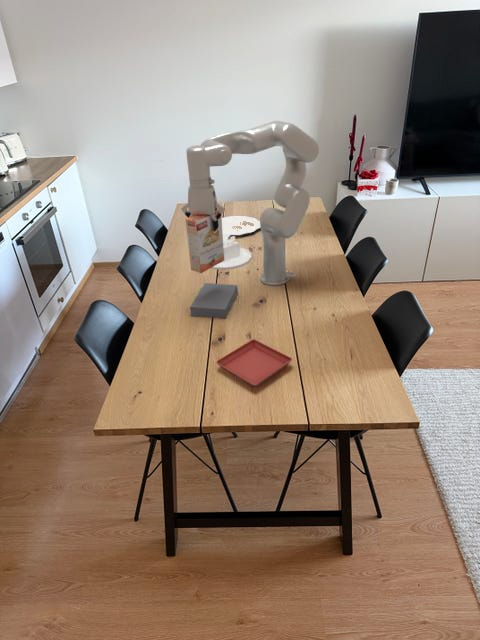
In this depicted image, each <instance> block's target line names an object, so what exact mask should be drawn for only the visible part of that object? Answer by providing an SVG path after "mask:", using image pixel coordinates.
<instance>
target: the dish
mask: <svg viewBox="0 0 480 640" xmlns="http://www.w3.org/2000/svg"><path fill="white" fill-rule="evenodd" d="M235 240H236V237H235V236H232V237H230V235H228V234H223V248H224V261H223V262H221V263H219V264H217V265H215V266H213V267H212V268H211V269H213V270H232V269H237V268H241V267H244V266H245V265H247V264H249V263H250V261H251V260H252V252H250V251H249V250H248V249H246V248H244V247H242V246H241V245H240V244H241V243H240V242H237V241H235Z"/></svg>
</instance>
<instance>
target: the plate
mask: <svg viewBox="0 0 480 640" xmlns="http://www.w3.org/2000/svg"><path fill="white" fill-rule="evenodd" d="M221 218H222V233H223V234H228V235H230V237H229V238H231V237H232V236H235V238H236V237H243V236H244V237H245V236H247V235H250V234H252V232H253V233H254V232H255V231H256V232H257V230H259V229H261V226H260V220H258V219H257V218H256V217H251V216H246V215H236V216H235V215H230V216H225V217H221ZM243 221H246V222H250V223H253V224H254V226H250V225H248V224H247V225H246V226H244V225H242V223H243ZM240 222H241V225H240ZM233 226H241V227H242V229H239V228H238V229H237V228H236V227H235V228H236V229H235V228H234V227H233ZM232 227H233V228H234V229H233V228H232ZM237 230H238V231H237Z"/></svg>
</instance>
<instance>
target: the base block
mask: <svg viewBox="0 0 480 640" xmlns="http://www.w3.org/2000/svg"><path fill="white" fill-rule="evenodd" d="M238 291H239V290H238V284H225V283H211V282H209V283H208V282H204V284H203V286H202V287H201V289H200V290H199V292H198V293H197V295H196V296H195V298H194V300H193V302H192V303H191V305H190V306H189V311H190V316H192V317H202V318H215V319H216V318H217V319H227V317H228V314H229V312H230V310H231V308H232V306H233V304H234V302H235V300H236V299H237V296H238V294H239V292H238Z"/></svg>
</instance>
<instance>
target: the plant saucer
mask: <svg viewBox="0 0 480 640" xmlns="http://www.w3.org/2000/svg"><path fill="white" fill-rule="evenodd" d="M292 361H293V358H292V357H291V356H289V355H287V354H284V353H283V352H280V351H278V350H276V349H275V348H273V347H271V346H269V345H267V344H265V343H263V342H261V341H259V340H258V339H253V338H252V339H251V340H249V341H246V343H244V344H243V345H241V346H238V348H236V349H234V350H233V351H230V352H229V353H227V354H226V355H224V356H222V357H221V358H219V359H217V360H216V361H215V363H216V364H217V365H218V366H219V367H220V368H222V369H223V370H225V371H226V372H228V373H230V374H231V375H233V376H235V377H237V378H238V379H240V380H241V381H243V382H245V383H247V384H249V385H250V386H252V387H254V388H257V387H258V386H260V385H261V384H262V383H264V382H265V381H266V380H268V379H269V378H271V377H272V376H274V375H275V374H276V373H278V372H279V371H281V370H282V369H284V368H285V367H287V366H288V365H289V364H290V363H291V362H292Z"/></svg>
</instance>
